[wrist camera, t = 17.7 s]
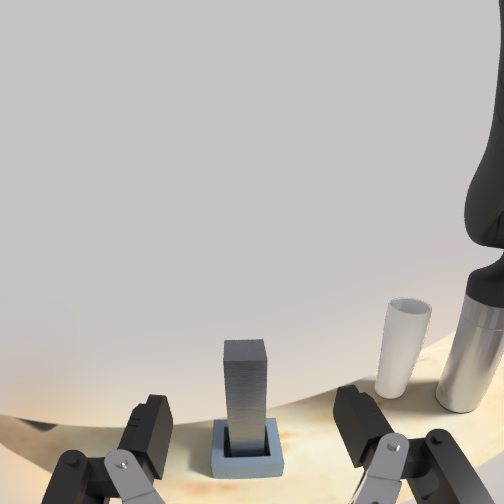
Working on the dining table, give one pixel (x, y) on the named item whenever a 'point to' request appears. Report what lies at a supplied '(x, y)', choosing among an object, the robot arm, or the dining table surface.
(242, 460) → the socket block
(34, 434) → the dining table surface
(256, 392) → the square bit
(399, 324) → the drinking glass
